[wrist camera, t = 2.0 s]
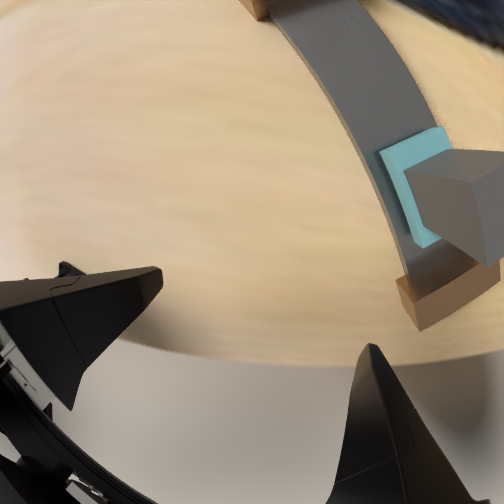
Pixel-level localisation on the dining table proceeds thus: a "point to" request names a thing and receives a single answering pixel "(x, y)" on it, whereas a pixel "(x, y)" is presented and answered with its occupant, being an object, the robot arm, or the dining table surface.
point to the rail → (379, 136)
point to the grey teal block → (450, 193)
